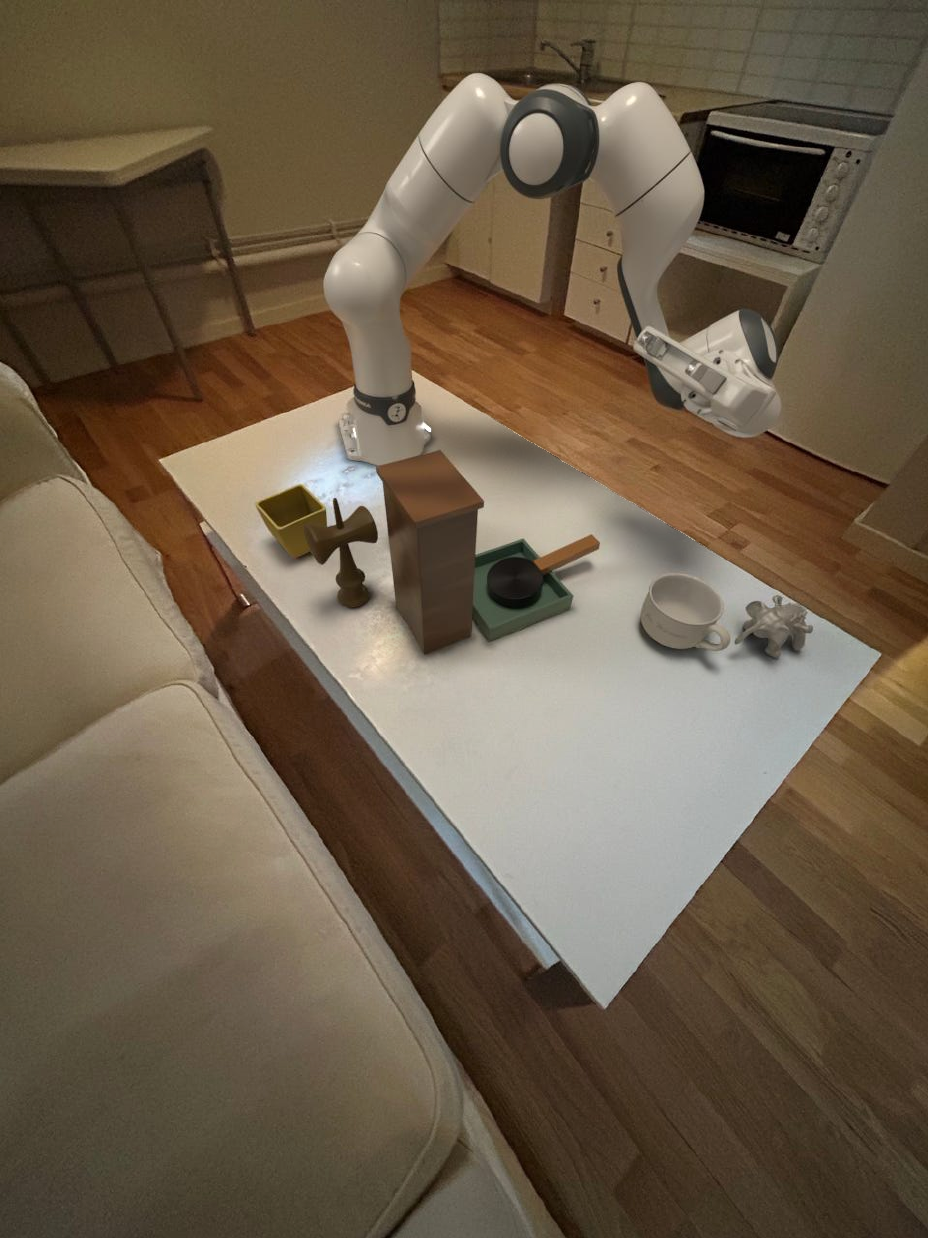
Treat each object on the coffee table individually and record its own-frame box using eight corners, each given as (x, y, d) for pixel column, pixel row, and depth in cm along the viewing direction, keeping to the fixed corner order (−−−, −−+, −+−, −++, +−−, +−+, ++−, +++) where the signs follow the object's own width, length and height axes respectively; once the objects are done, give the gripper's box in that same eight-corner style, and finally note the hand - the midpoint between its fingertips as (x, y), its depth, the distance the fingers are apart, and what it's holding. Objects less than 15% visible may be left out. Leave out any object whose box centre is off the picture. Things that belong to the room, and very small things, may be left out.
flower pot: (290, 570, 92) (278, 529, 85) (267, 543, 96) (253, 502, 89) (335, 548, 96) (327, 507, 89) (311, 523, 100) (301, 482, 93)
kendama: (319, 597, 88) (292, 497, 73) (372, 575, 92) (357, 475, 76) (334, 621, 85) (309, 522, 70) (389, 598, 88) (376, 498, 73)
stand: (391, 604, 87) (375, 466, 68) (441, 586, 90) (440, 449, 70) (422, 658, 81) (414, 522, 61) (475, 637, 83) (484, 500, 64)
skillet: (477, 580, 91) (476, 569, 88) (578, 534, 95) (580, 522, 93) (504, 616, 86) (504, 605, 83) (610, 566, 90) (612, 554, 88)
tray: (445, 578, 92) (445, 564, 89) (521, 551, 96) (523, 538, 94) (488, 641, 83) (489, 628, 81) (570, 608, 88) (573, 595, 85)
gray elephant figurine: (807, 642, 84) (833, 610, 79) (770, 685, 79) (796, 654, 73) (752, 609, 89) (773, 576, 83) (713, 647, 83) (733, 615, 77)
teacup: (622, 615, 87) (635, 580, 81) (678, 598, 90) (695, 563, 84) (672, 683, 79) (691, 650, 73) (733, 662, 82) (756, 629, 75)
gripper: (680, 335, 82) (630, 297, 73) (787, 397, 71) (743, 361, 62) (653, 375, 85) (602, 343, 76) (751, 440, 74) (705, 411, 65)
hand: (666, 351), depth 69 cm, fingers open, 8 cm apart
